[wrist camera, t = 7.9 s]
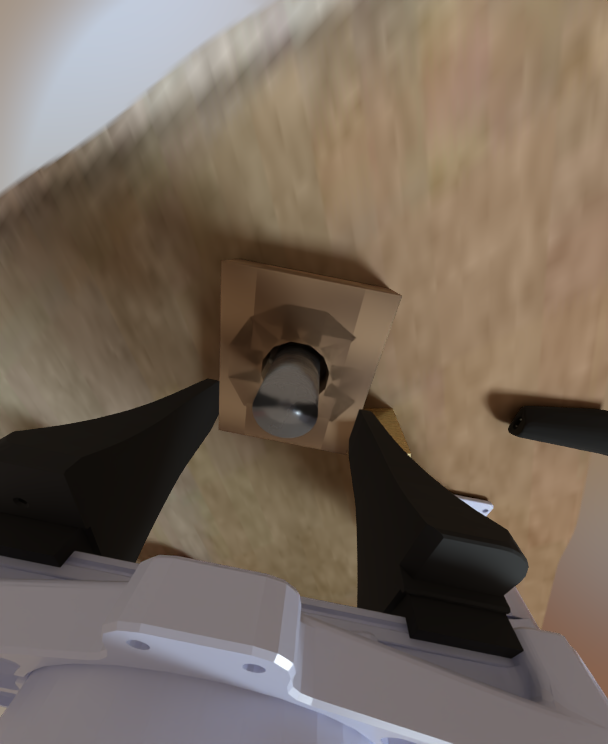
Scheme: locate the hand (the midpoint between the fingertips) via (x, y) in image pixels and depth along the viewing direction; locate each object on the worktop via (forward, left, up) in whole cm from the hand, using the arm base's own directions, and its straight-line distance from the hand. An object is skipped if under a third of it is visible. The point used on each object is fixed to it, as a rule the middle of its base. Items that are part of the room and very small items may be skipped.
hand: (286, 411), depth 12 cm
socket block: (0, 0, -7) cm, 7 cm away
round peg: (0, 0, -6) cm, 6 cm away
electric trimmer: (-1, -25, -8) cm, 26 cm away
